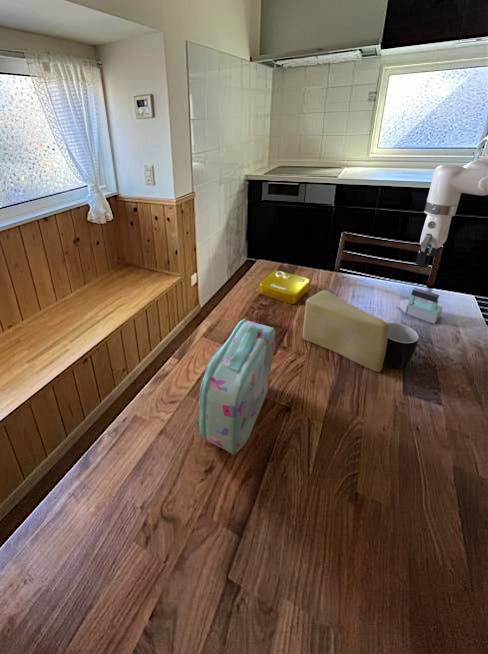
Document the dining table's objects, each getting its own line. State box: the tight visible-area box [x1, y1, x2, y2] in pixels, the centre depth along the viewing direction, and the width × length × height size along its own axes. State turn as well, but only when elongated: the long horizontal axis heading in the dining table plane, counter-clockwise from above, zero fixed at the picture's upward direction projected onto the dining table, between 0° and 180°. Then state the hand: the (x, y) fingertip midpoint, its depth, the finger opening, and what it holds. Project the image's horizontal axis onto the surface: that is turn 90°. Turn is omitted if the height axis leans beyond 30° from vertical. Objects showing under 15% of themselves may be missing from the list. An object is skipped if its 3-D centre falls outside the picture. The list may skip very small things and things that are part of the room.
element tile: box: [259, 270, 310, 305], centre depth 130 cm, size 15×15×5 cm
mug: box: [383, 322, 420, 371], centre depth 90 cm, size 12×9×10 cm
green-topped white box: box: [399, 287, 443, 324], centre depth 112 cm, size 11×6×8 cm, turn 42°
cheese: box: [302, 289, 389, 373], centre depth 96 cm, size 22×10×15 cm, turn 35°
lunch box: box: [198, 318, 276, 455], centre depth 78 cm, size 27×10×21 cm, turn 152°
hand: (426, 260), depth 106 cm, fingers open, 9 cm apart
